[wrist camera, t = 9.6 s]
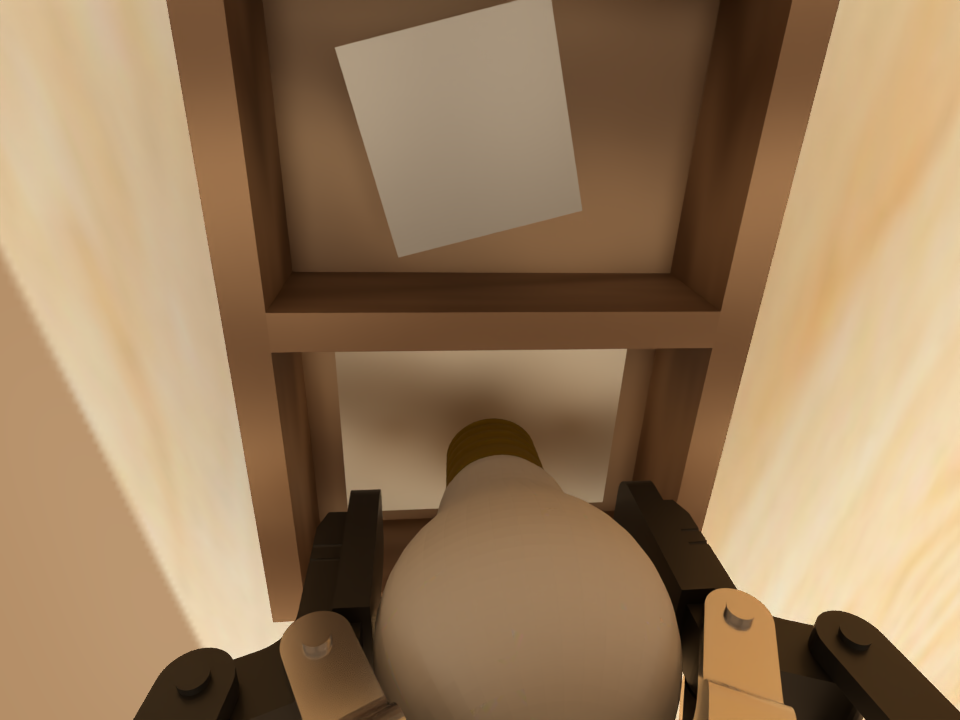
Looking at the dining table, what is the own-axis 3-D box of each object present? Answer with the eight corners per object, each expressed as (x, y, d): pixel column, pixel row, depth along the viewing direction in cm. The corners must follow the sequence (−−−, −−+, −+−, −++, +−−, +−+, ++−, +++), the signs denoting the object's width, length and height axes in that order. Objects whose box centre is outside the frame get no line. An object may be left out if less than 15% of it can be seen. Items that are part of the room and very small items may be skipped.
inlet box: (217, -76, 13) (143, -134, 10) (751, -42, 15) (861, -81, 11) (297, 529, 21) (273, 622, 17) (641, 515, 22) (683, 598, 19)
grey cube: (355, 56, 14) (334, 47, 10) (515, 14, 14) (550, -9, 10) (402, 217, 16) (398, 257, 12) (544, 181, 16) (582, 210, 12)
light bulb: (533, 534, 19) (627, 921, 10) (365, 488, 18) (307, 892, 9) (616, 390, 17) (825, 723, 8) (432, 325, 16) (445, 645, 7)
